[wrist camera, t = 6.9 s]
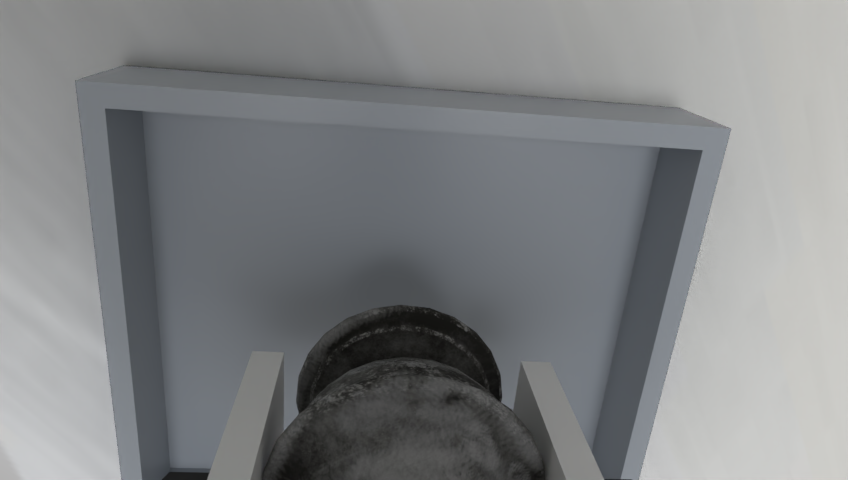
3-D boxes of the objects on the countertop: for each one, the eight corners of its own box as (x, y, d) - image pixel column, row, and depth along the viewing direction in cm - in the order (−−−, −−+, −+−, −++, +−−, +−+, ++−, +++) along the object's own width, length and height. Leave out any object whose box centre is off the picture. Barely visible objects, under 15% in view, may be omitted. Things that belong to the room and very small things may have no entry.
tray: (123, 65, 17) (74, 80, 15) (679, 108, 19) (730, 128, 16) (159, 468, 23) (128, 536, 20) (594, 477, 24) (622, 541, 21)
